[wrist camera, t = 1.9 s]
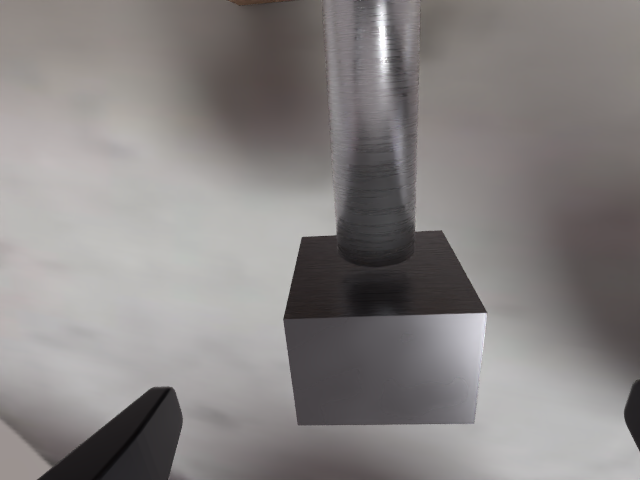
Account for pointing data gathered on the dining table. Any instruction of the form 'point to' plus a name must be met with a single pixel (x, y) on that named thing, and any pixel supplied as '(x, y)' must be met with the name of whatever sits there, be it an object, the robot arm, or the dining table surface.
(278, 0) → the block
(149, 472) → the robot arm
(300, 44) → the dining table surface
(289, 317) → the shaft
